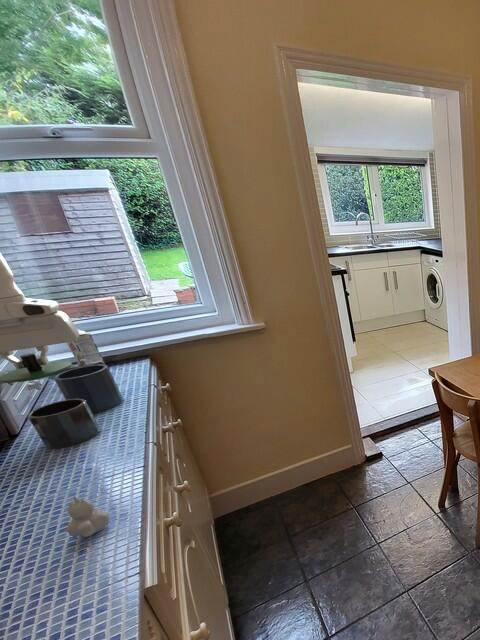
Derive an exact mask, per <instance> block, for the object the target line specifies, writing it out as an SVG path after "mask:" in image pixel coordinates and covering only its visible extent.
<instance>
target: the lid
mask: <svg viewBox="0 0 480 640" xmlns="http://www.w3.org/2000/svg"><path fill="white" fill-rule="evenodd" d="M19 357H20V360H22V361H23V363H24V364H25V366H26V368H22V369H13V370H11V371H8V372H6V373H3V374H2V375H0V383H2V384H11V383H24V382H30V381H31V382H32V381H35V380H41V379H44V378H48V377H51V376H56V375H58V374H60V373H62V372H65V371H66V369H68V368H70V367H71V366H72V365H73V364H72V362H70V361H68V360H57V361H49V363H48V364H46V365H38V362H36V360H35V359H36V358H37V357H38V356H36V353H35V352H30V353H25V354H22V355H20V356H19Z"/></svg>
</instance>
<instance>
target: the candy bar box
mask: <svg viewBox="0 0 480 640" xmlns="http://www.w3.org/2000/svg"><path fill="white" fill-rule="evenodd" d="M77 330H78V332H79V334H80V335H79V337H78V339H77V340H75V341H73V342H67V343H66V344H67V346H68V348H69V350H70V352H71V353H72V355H73V357H74V359H75V361H76V364H79V363H80V362H81V361H80V360H82V359H86V360H85V361H86V362H87V363H91V362H96V361H100V360H101V361H104V364H105V365H106V363H105V359H104V358H103V356H102V355H101V353H100V351H99V348H98V346H97V344H96V343H95V341H94V339H93V336H92V334H91V333H90V332H87V331H84V330H83V329H79V328H77ZM106 366H107V365H106Z"/></svg>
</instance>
